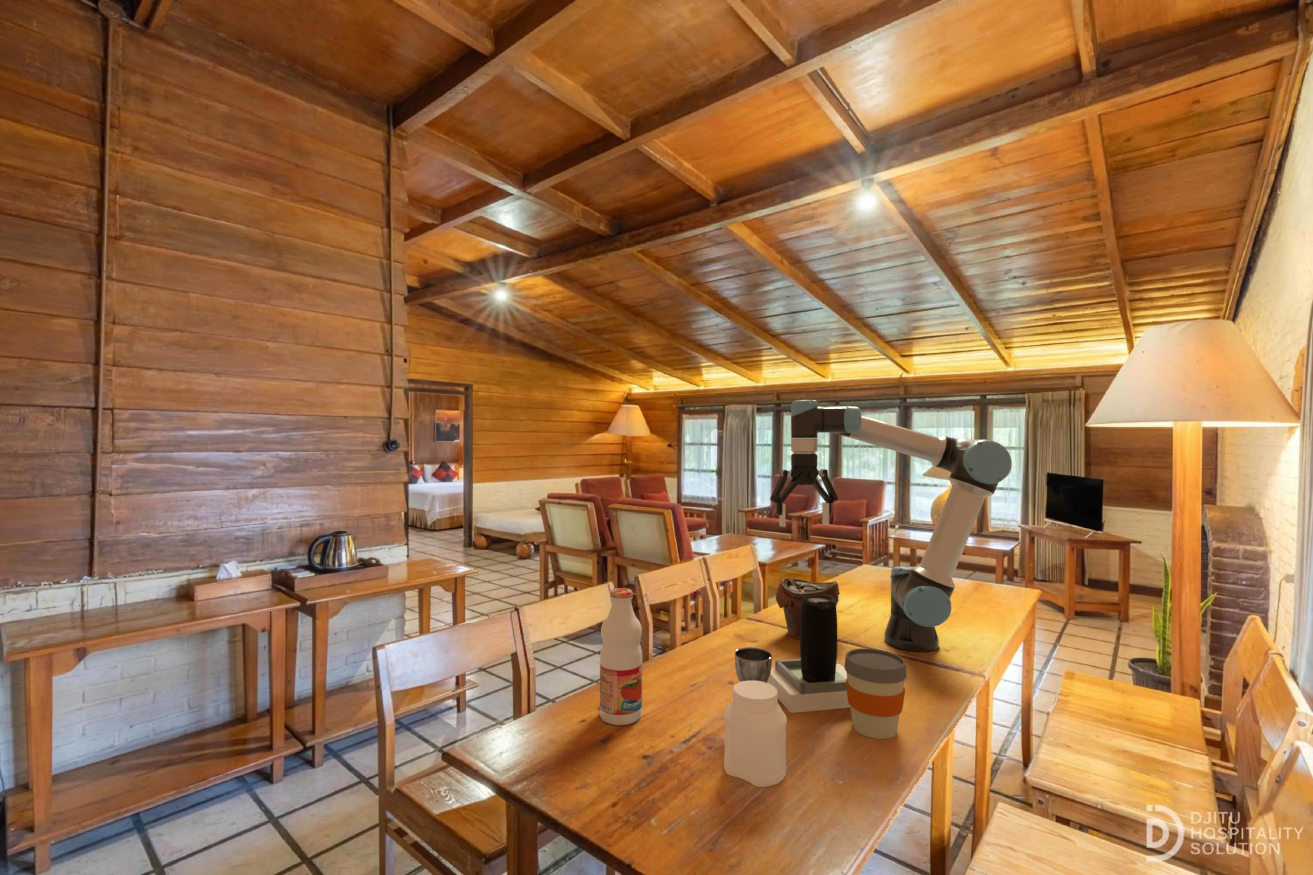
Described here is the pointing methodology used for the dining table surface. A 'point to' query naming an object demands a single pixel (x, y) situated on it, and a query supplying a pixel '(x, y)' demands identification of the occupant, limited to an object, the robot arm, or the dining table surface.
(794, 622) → the brown tapered open container
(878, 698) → the reusable coffee cup
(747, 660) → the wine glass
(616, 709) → the fruit juice
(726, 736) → the jar
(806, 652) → the portable speaker
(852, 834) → the dining table surface
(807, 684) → the dock
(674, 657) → the dining table surface
